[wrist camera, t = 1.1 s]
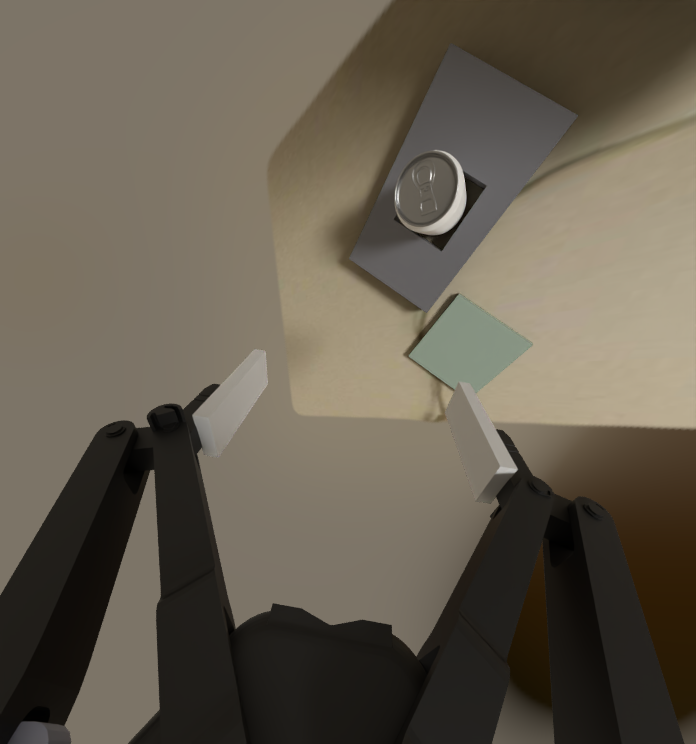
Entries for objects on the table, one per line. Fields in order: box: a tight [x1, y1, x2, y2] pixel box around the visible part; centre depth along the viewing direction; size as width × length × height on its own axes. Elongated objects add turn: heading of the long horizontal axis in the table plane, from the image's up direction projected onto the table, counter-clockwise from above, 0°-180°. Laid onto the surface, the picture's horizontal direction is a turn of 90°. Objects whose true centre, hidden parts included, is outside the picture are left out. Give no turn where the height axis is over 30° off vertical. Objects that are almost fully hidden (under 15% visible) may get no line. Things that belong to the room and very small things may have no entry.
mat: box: [409, 294, 533, 393], centre depth 38 cm, size 12×12×1 cm
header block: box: [349, 43, 578, 313], centre depth 31 cm, size 22×14×3 cm, turn 151°
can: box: [394, 150, 466, 235], centre depth 27 cm, size 6×6×12 cm
